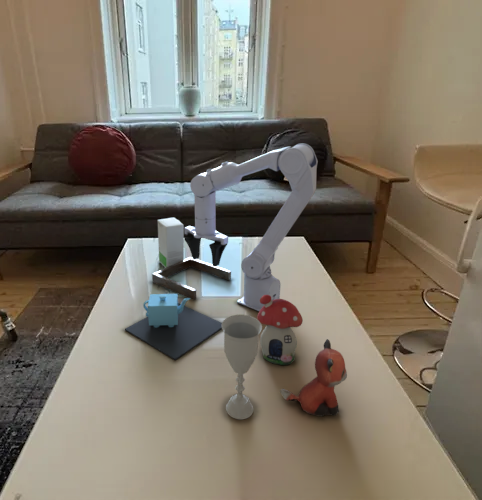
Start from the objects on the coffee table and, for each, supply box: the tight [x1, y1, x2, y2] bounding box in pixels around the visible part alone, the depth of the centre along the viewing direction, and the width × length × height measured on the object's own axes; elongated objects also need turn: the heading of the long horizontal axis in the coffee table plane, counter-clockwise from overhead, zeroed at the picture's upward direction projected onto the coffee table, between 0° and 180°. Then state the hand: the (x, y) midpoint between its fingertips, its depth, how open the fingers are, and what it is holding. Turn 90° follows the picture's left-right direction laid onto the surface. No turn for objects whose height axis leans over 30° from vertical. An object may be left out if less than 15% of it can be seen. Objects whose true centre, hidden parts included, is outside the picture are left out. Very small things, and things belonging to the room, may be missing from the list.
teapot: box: [142, 293, 192, 328], centre depth 98 cm, size 12×6×8 cm, turn 90°
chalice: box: [221, 314, 263, 420], centre depth 68 cm, size 7×7×18 cm
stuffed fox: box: [279, 338, 348, 417], centre depth 70 cm, size 8×11×12 cm
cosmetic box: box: [157, 217, 185, 268], centre depth 131 cm, size 8×7×16 cm
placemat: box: [124, 302, 223, 361], centre depth 97 cm, size 18×18×1 cm
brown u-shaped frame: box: [151, 256, 232, 301], centre depth 121 cm, size 18×17×3 cm
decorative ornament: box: [256, 295, 304, 366], centre depth 83 cm, size 9×6×15 cm
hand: (205, 261), depth 111 cm, fingers open, 7 cm apart
